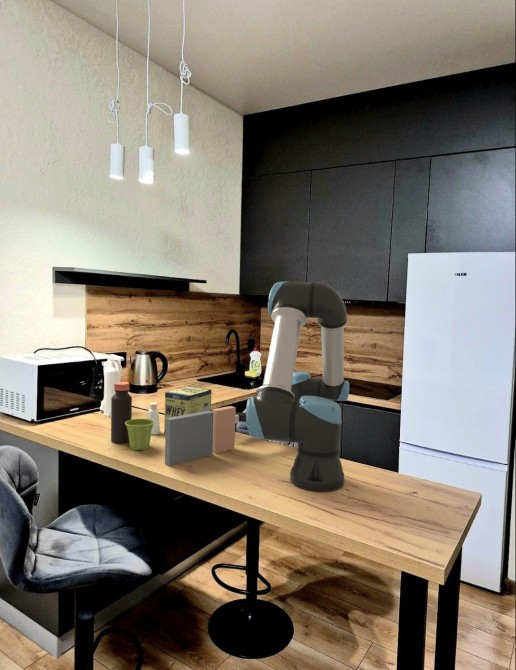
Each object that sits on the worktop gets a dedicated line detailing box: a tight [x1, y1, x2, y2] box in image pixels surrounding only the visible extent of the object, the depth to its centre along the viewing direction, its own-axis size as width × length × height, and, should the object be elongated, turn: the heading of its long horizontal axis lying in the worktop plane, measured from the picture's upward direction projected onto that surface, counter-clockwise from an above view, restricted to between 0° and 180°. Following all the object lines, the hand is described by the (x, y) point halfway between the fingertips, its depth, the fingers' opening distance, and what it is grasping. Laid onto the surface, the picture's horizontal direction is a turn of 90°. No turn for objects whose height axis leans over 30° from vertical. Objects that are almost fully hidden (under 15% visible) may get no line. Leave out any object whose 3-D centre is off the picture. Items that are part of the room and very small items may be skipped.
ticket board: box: [164, 410, 214, 467], centre depth 148 cm, size 16×3×14 cm, turn 133°
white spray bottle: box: [99, 354, 125, 417], centre depth 198 cm, size 7×12×25 cm, turn 56°
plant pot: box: [125, 418, 154, 451], centre depth 158 cm, size 9×9×9 cm
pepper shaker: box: [147, 402, 161, 436], centre depth 175 cm, size 5×5×11 cm
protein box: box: [163, 385, 212, 434], centre depth 178 cm, size 10×16×16 cm
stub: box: [211, 405, 237, 454], centre depth 157 cm, size 8×2×14 cm, turn 133°
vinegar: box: [110, 381, 133, 444], centre depth 164 cm, size 7×7×20 cm
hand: (236, 425), depth 161 cm, fingers open, 13 cm apart
